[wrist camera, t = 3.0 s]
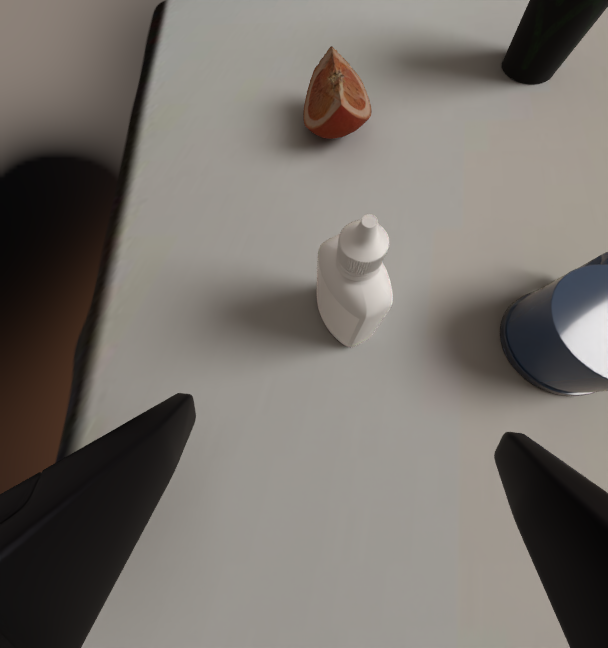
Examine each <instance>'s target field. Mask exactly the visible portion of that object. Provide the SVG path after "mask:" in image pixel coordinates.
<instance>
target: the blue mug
mask: <svg viewBox="0 0 608 648" xmlns="http://www.w3.org/2000/svg"><path fill="white" fill-rule="evenodd" d="M500 338H501V343H502V347H503V350H504V352H505V354H506V356H507V358H508V360H509V362H510V363H511V364H512V366H513V367H514V368H515V369H516V370H517V372H518V373H519V374H520V375H521V376H523V377H524V378H525V379H526V380H527V381H529V382H530V383H532V384H533V385H535V386H537V387H538V388H540V389H543V390H545V391H547V392H550V393H553V394H558V395H563V396H579V395H587V394H591V393H594V392H600V391H608V252H606V253H604V254H602V255H600V256H599V257H597V258H595V259H593V260H591V261H590V262H588V263H586V264H584V265H583V266H581V267H579V268H577V269H575V270H573V271H571V272H569V273H567V274H566V275H564V276H562V277H560V278H558V279H557V280H555V281H553V282H551V283H550V284H548V285H546V286H544V287H543V288H541V289H539V290H537V291H536V292H533V293H530V294H527V295H525V296H523V297H521V298H519V299H518V300H516V301H515V302H513V303H512V304H511V305H510V306H509V307H508V309H507V310H506V312H505V314H504V316H503V318H502V321H501V326H500Z"/></svg>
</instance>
